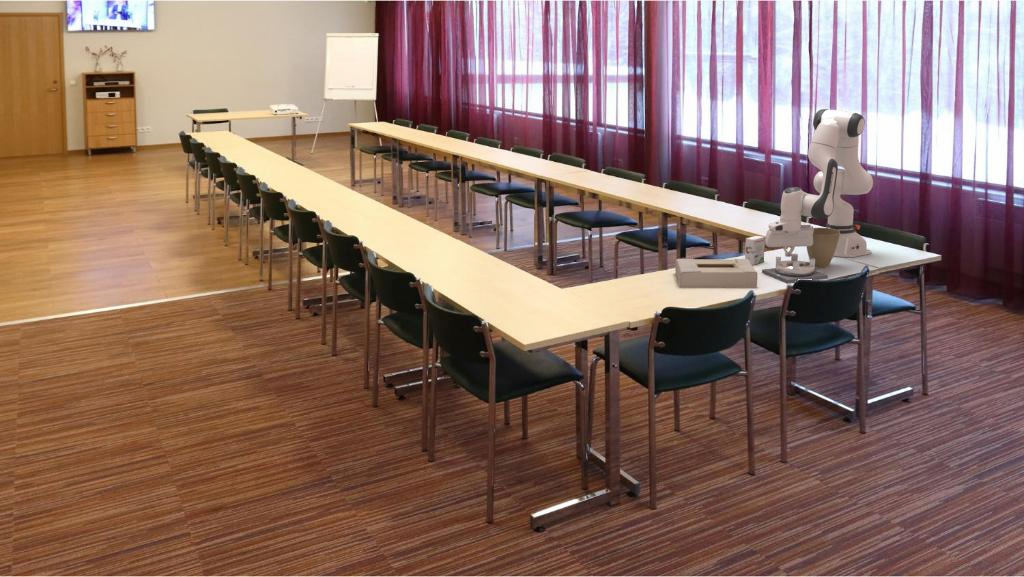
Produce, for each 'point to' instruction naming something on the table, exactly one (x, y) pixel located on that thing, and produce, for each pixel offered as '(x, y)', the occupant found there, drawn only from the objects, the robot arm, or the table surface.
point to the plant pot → (823, 246)
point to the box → (715, 273)
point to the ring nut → (795, 266)
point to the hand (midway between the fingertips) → (788, 256)
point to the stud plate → (792, 279)
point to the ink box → (755, 249)
